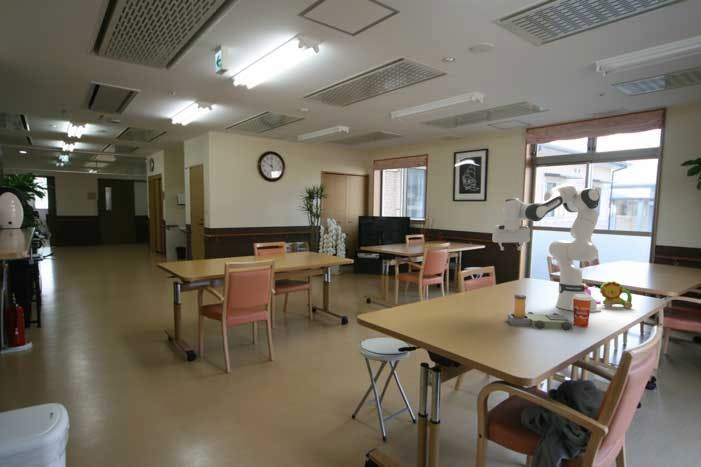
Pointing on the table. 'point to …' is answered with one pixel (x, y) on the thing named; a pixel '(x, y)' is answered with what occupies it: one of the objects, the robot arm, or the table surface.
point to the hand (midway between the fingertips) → (510, 250)
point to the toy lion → (615, 294)
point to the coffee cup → (581, 309)
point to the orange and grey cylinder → (519, 306)
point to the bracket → (590, 295)
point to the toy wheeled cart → (550, 321)
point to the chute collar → (520, 320)
